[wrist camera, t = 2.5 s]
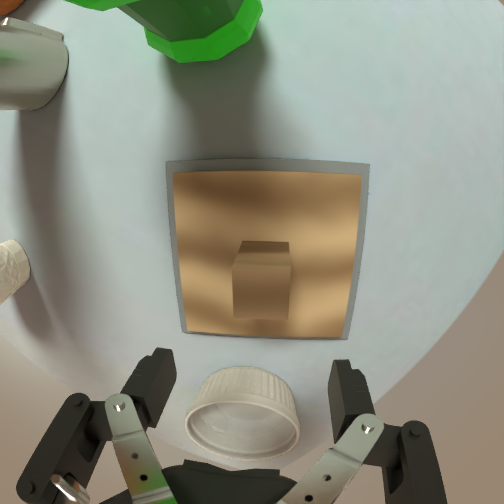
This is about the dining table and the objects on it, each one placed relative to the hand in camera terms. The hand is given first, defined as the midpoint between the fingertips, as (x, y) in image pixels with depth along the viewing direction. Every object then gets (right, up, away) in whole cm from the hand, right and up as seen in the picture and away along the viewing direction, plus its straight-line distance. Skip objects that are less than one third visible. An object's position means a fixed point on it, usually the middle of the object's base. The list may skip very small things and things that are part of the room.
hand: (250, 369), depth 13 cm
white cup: (-33, +4, +18) cm, 38 cm away
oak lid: (+1, +5, +13) cm, 15 cm away
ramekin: (0, -12, +21) cm, 24 cm away
